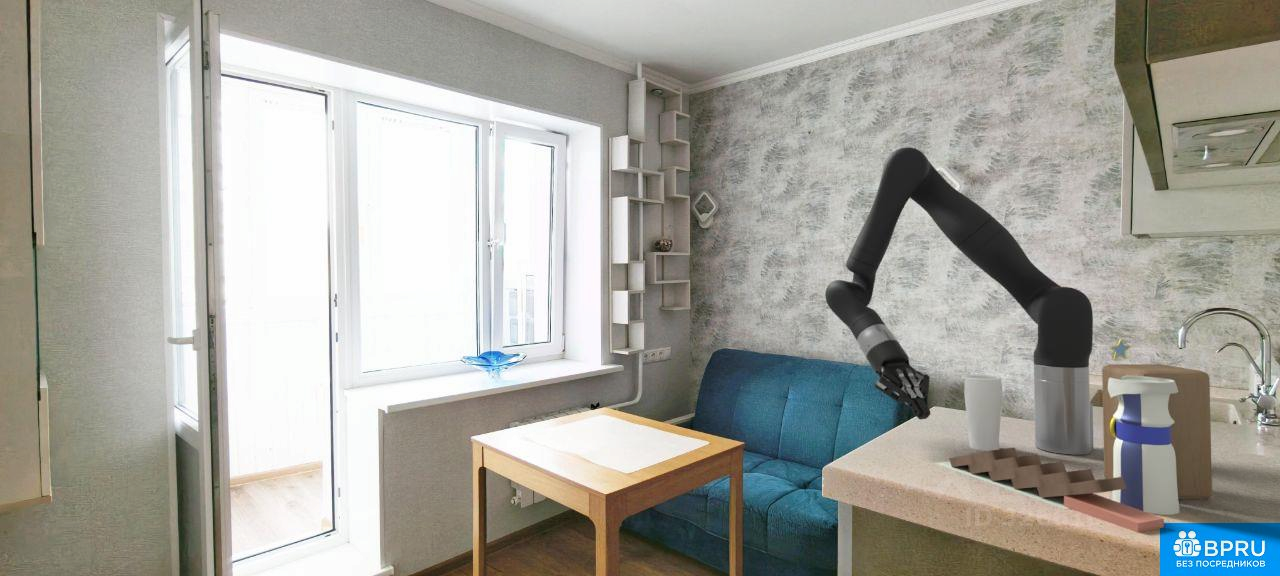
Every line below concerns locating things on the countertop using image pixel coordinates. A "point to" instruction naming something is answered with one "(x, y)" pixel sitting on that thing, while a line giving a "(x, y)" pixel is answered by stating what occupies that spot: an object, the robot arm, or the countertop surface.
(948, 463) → the mat
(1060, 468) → the domino
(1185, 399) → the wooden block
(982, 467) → the domino
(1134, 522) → the domino
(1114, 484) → the domino
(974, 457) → the domino
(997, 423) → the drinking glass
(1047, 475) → the domino
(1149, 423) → the white and blue jug
